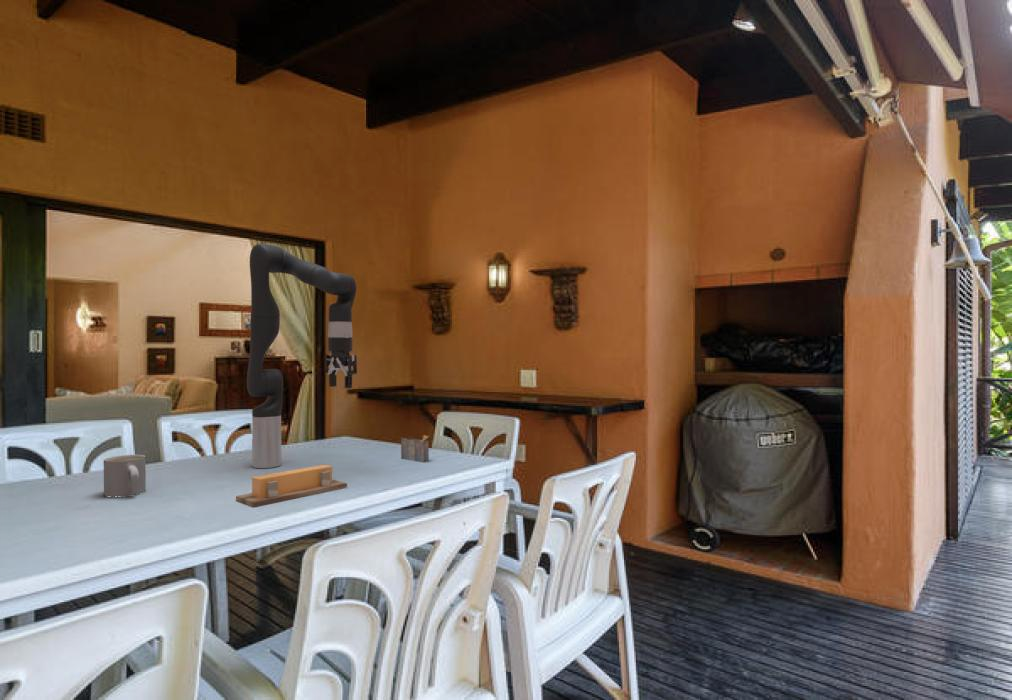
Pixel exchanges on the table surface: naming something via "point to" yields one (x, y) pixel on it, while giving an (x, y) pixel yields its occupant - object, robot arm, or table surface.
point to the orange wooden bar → (290, 480)
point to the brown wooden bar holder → (275, 497)
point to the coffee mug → (124, 475)
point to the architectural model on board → (415, 449)
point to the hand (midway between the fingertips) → (340, 387)
